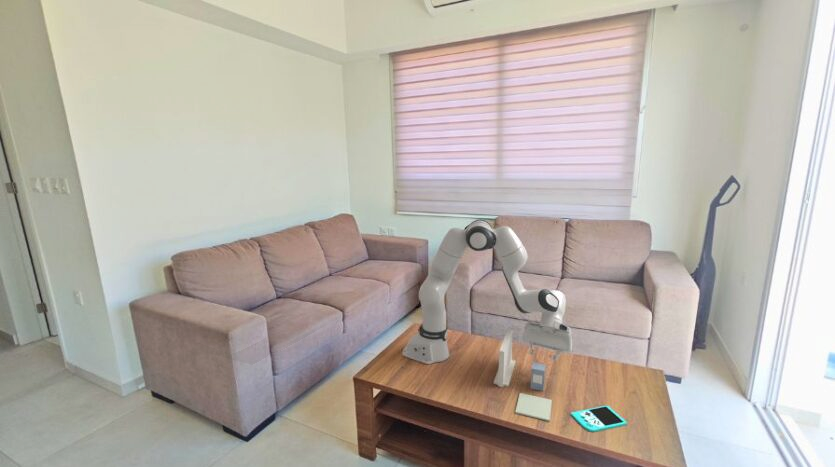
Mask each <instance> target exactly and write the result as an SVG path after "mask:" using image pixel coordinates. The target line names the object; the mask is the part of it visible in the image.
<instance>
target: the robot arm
mask: <svg viewBox="0 0 835 467" xmlns="http://www.w3.org/2000/svg"><path fill="white" fill-rule="evenodd" d="M492 227H493V226H492V225H491V223H489V222H488V221H487V220H484V219H476V220H474V221H472V222H470V223H469V224H468V225H466V226H465V227H464V229H463V228H459V227H452V228H450V229H449V230H448V231H447V233H446V234H445V236H444V237H443V239H442V241H441V243H440V245H439V247H438V248H437V251H436V252H435V253H436V254H435V255H434V259H433V260H432V264H431V266H430V269H429V272H428V274H427V276H426V278H425V280H424V281H423V283H422V284H421V285H420V288H419V290H418V299H419V301H420V305H421V311H422V322H421V324H420V326H419V327H418V328H417V333H415V334H413V335H412V336H411V337H410V338H409V340H408V342H407V344H406V345H405V347H404V348H403V350H402V356H403V357H406V358H408V359H412V360H414V361H417V362H419V363H423V364H424V365H425V364H426V365H431V364H434V363H440V362H444V361H446V360H447V359H448V358H449V357H450V351H449V347H448V340H447V339H448V326H447V310H446V306H445V295H446V293H447V291H448V289H449V287H450V284H451V283H452V280H453V278H454V276H455V273H456V271H457V269H458V266H459V264H460V262H461V261H462V258H463V256H464V253H465V252H466V250H467V248H470V249H471V250H473V251H475V252H482V251H486V250H491V249H494V250H495V251H496V253H497V255H498V256H499V259H500V260H501V262H502V266H501V269H502V273H503V276H504V279H505V281H506V283H507V285H508V287H509V288H508V289H509V290H510V293H511V295H512V297H513V301H514V305H515V307H516V309H517V310H518V311H519V313H522V314H530V313H542V314H541V317H540V320H539V323H536V322H532V321H530V322H527V323H525V324H524V330H523V331H524V332H523V333H522V336H521V337H522V342H524V343H525V344H528V345H529V346H528V347H529V348H530V350H529V354H530V355H533V356H534V355H535V352H536V351H535V349H533V347H534V346H538V347H541V348H546V349H550V350H554V351H557V353H556V354H553V357H552V360H553V361H556V362H557V361H558V358H559V357H560V356H561V355H562V353H566V354H570V353H571V352H573V351H572V349H573V339H572V338H573V337H572V334H573V333H572V329H571V327H569V326H567V325H565V324H563V316H564V314H565V313H566V312H565V311H566V305H567V301H566V300H567V299H566V295H565V294H564V293H563V292H562V291H560V290H558V289H551V290H549V289H548V288H538V289H537V288H536V289H531V290H527V289H525V288H524V285H523V283H522V280H521V279H520V276H519V271H520V270H521V269H522V268H523V267H524V266H525V264H526V263H527V261H528V258H529V257H528V251H527V250H526V248H525V246H524V244H523V243H522V241H521V239H520V238H519V237H518V236H517V234H516V233H515V231H514V230H513V229H512V228H511V227H510V226H506V225H502V226H499V227H497V228H492Z"/></svg>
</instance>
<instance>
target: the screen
mask: <svg viewBox="0 0 835 467" xmlns="http://www.w3.org/2000/svg"><path fill="white" fill-rule="evenodd" d="M513 333H514V328H511V327H508V329H507V331H506V333H505V336H504V338H503V341H502V343H501V345H500V348H499V350H498V351H499V353H498V354H499V355H498V369H497V371H496V375H495V378H494V380H493V384H494V385H497V386H498V387H499V388H500V387H501V388H504V387H507V388H509V386H510V384H511V379H512V376H513V372H514V369H515V366H516V359H513V357H512V356H513V335H514V334H513Z"/></svg>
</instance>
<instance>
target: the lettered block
mask: <svg viewBox="0 0 835 467" xmlns="http://www.w3.org/2000/svg"><path fill="white" fill-rule="evenodd" d="M546 366H547V365H546V364H544V363H540V362H534V361H532V365H531V370H530V371H531V374H530V389H532V390H537V391H540V392H544V391H545V383H546V381H545V379H546Z"/></svg>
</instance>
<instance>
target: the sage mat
mask: <svg viewBox="0 0 835 467" xmlns="http://www.w3.org/2000/svg"><path fill="white" fill-rule="evenodd" d="M552 402H553V400H552V399H549V398H544V397H540V396H535V395H531V394H526V393H521V392H519V395H518V399H517V404H516V407H515V414H517V415H521V416H525V417H526V416H527V417H530V418H534V419H538V420H542V421H546V422H550V421H551V412H552V411H551V410H552V405H553V404H552Z"/></svg>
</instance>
